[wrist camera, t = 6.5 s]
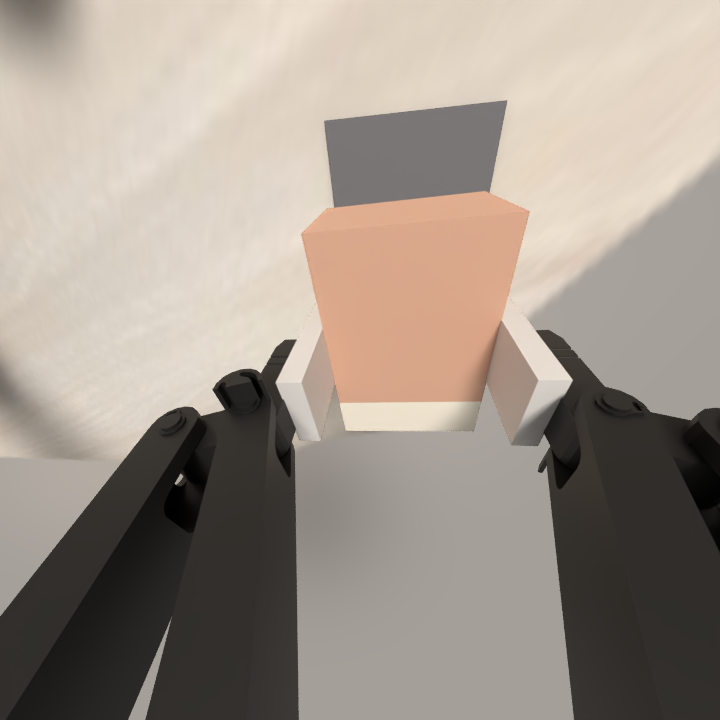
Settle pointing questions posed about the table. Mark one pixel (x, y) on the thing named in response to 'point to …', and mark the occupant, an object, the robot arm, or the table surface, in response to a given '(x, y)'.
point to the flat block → (413, 305)
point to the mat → (414, 153)
